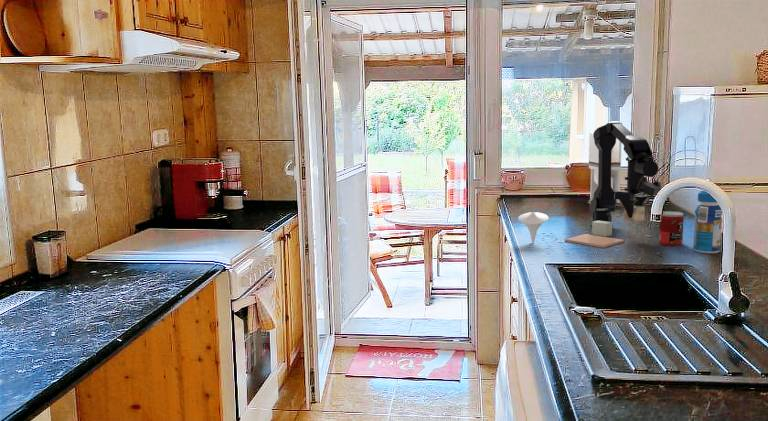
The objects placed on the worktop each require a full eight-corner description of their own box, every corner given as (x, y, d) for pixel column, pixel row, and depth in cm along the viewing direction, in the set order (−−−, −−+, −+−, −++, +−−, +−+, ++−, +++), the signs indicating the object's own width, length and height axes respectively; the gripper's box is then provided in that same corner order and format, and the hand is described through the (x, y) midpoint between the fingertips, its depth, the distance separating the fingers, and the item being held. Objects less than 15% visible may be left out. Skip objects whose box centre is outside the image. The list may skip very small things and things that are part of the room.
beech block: (624, 220, 243) (624, 206, 242) (631, 218, 246) (632, 205, 245) (637, 221, 239) (637, 208, 238) (644, 220, 242) (644, 206, 241)
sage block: (591, 234, 255) (592, 221, 254) (597, 233, 257) (598, 220, 256) (605, 236, 250) (606, 223, 249) (611, 235, 253) (612, 222, 252)
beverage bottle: (688, 248, 227) (691, 190, 224) (713, 248, 227) (716, 190, 223) (699, 254, 219) (702, 194, 215) (725, 253, 218) (728, 193, 215)
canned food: (672, 247, 230) (673, 215, 228) (653, 243, 237) (654, 212, 235) (687, 244, 233) (688, 213, 232) (668, 240, 240) (669, 210, 239)
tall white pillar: (587, 204, 325) (589, 132, 319) (608, 203, 326) (610, 131, 320) (597, 208, 313) (599, 133, 308) (619, 207, 315) (621, 132, 309)
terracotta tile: (564, 241, 244) (564, 239, 244) (585, 236, 252) (585, 233, 252) (603, 247, 232) (603, 245, 231) (623, 242, 240) (623, 239, 240)
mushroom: (546, 246, 236) (546, 213, 234) (515, 244, 240) (516, 212, 238) (549, 240, 246) (550, 208, 244) (520, 239, 250) (520, 207, 248)
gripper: (643, 178, 228) (641, 222, 230) (670, 173, 240) (668, 215, 242) (613, 175, 236) (612, 219, 239) (641, 171, 248) (639, 212, 251)
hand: (634, 216), depth 242 cm, fingers closed on beech block, 5 cm apart
